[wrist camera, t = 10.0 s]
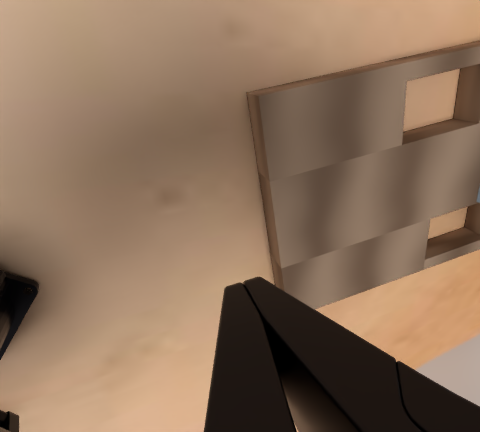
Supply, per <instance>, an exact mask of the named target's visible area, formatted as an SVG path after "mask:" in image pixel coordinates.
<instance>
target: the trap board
mask: <svg viewBox="0 0 480 432" xmlns="http://www.w3.org/2000/svg"><path fill="white" fill-rule="evenodd" d="M460 68H461V70H460V77H459V84H458V91H457V97H456V104H455V111H454V118H453V119H450V120H447V121H443V122H439V123H436V124H432V125H428V126H425V127H421V128H417V129H414V130H410V131H406V132H403V125H404V111H405V98H406V84H407V81H409V80H413V79H418V78H422V77H426V76H430V75H434V74H439V73H443V72H447V71H451V70H455V69H460ZM247 98H248V105H249V112H250V118H251V125H252V132H253V139H254V145H255V152H256V159H257V166H258V172H259V179H260V186H261V193H262V199H263V206H264V213H265V220H266V226H267V233H268V240H269V247H270V253H271V260H272V267H273V274H274V280H275V286H276V287H278V288H280V289H281V290H283V291H285V292H286V293H288V294H290V295H291V296H293V297H295V298H296V299H298V300H300V301H301V302H303V303H305V304H306V305H308V306H309V307H311V308H313V309H317V308H320V307H323V306H325V305H328V304H331V303H334V302H336V301H339V300H342V299H345V298H347V297H350V296H353V295H356V294H358V293H361V292H364V291H367V290H369V289H372V288H375V287H378V286H380V285H383V284H386V283H389V282H391V281H394V280H397V279H400V278H402V277H405V276H408V275H410V274H413V273H416V272H419V271H421V270H424V269H427V268H430V267H432V266H435V265H438V264H441V263H443V262H446V261H449V260H452V259H454V258H457V257H460V256H463V255H465V254H468V253H471V252H474V251H476V250H479V249H480V203H479V202H476V201H477V197H478V192H479V187H480V41H476V42H471V43H467V44H462V45H458V46H454V47H449V48H445V49H440V50H436V51H431V52H427V53H422V54H418V55H413V56H409V57H404V58H400V59H395V60H391V61H386V62H382V63H377V64H373V65H368V66H364V67H359V68H355V69H350V70H346V71H341V72H337V73H332V74H328V75H323V76H319V77H314V78H310V79H305V80H301V81H296V82H292V83H288V84H283V85H279V86H274V87H270V88H265V89H261V90H256V91H252V92H247ZM465 207H468V211H467V216H466V221H465V226H464V228H461V229H458V230H455V231H452V232H449V233H446V234H444V235H441V236H438V237H435V238H432V239H429V240H428V232H429V225H430V219H431V218H434V217H437V216H440V215H443V214H446V213H450V212H453V211H456V210H459V209H462V208H465Z"/></svg>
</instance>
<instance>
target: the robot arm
mask: <svg viewBox="0 0 480 432" xmlns="http://www.w3.org/2000/svg"><path fill="white" fill-rule="evenodd" d="M26 288H31V289H32V290H27V289H26ZM38 290H39V284H38V283H37V282H35V281H33V280H30V279H27V278H23V277H20V276H17V275H13V274H10V273H7V272H3V271H1V270H0V360H1V358H2V356H3V355H4V353H5V351H6V349H7V347H8V345H9V344H10V342H11V340H12V338H13V336H14V335H15V333H16V331H17V329H18V327H19V326H20V324H21V322H22V320H23V318H24V317H25V315H26V313H27V311H28V309H29V308H30V306H31V304H32V302H33V300H34V299H35V297H36V295H37V293H38ZM294 423H295V425H296V427H297V429H298V431H299V432H480V406H478V405H476V404H474V403H472V402H470V401H468V400H466V399H464V398H463V397H461V396H459V395H457V394H455V393H453V392H451V391H449V390H448V389H446V388H445V387H443V386H441V385H439V384H438V383H436V382H434V381H432V380H430V379H429V378H427V377H425V376H424V375H422V374H420V373H419V372H417V371H415V370H414V369H412V368H410V367H409V366H407V365H405V364H404V363H402V362H400V361H397V362H396V360H395V358H394V357H392V356H390V355H389V354H387V353H385V352H384V351H382V350H380V349H379V348H377V347H375V346H374V345H372V344H370V343H369V342H367V341H366V340H364V339H362V338H361V337H359V336H357V335H356V334H354V333H352V332H351V331H349V330H347V329H346V328H344V327H342V326H341V325H339V324H338V323H336V322H334V321H333V320H331V319H329V318H328V317H326V316H324V315H323V314H321V313H319V312H318V311H316V310H314V309H313V308H311V307H309V306H308V305H306V304H305V303H303V302H301V301H300V300H298V299H296V298H295V297H293V296H291V295H290V294H288V293H286V292H285V291H283V290H281V289H280V288H278V287H276V286H275V285H273V284H272V283H270V282H268V281H267V280H265V279H263V278H262V277H255V278H252V279H249V280H246V281H244V282H243V284H242V283H236V284H233V285H230V286H227V287H225V289H224V295H223V302H222V309H221V316H220V323H219V330H218V337H217V343H216V350H215V357H214V364H213V371H212V378H211V385H210V392H209V399H208V406H207V413H206V420H205V427H204V432H297V431H296V428H295V425H294ZM0 432H19V416H18V415H16V414H14V413H12V412H10V411H8V412H4V411H1V410H0Z"/></svg>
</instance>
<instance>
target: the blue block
mask: <svg viewBox="0 0 480 432" xmlns="http://www.w3.org/2000/svg"><path fill="white" fill-rule="evenodd" d="M476 202H479V203H480V187H479V192H478V197H477V201H476Z"/></svg>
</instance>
